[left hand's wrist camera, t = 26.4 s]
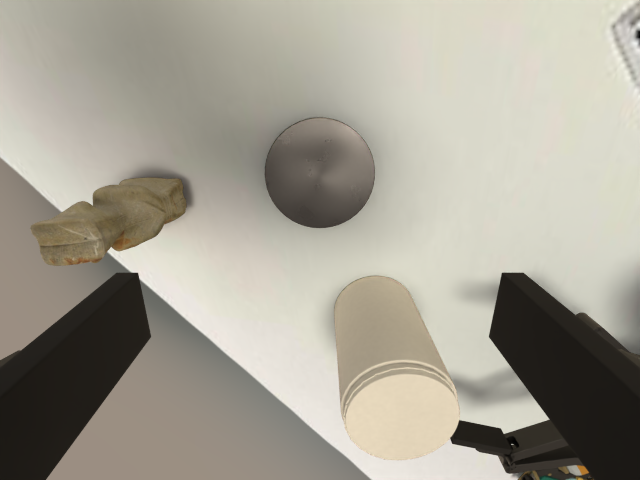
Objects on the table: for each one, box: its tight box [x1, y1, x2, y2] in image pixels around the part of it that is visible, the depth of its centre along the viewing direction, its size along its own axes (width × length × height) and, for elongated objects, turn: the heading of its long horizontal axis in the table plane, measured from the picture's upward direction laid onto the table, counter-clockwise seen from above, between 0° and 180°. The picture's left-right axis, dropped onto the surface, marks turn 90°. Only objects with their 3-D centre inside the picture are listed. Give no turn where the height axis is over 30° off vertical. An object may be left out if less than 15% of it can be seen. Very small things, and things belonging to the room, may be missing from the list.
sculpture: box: [31, 178, 186, 266], centre depth 32 cm, size 6×7×15 cm
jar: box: [334, 276, 460, 460], centre depth 37 cm, size 10×10×17 cm
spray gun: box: [518, 465, 594, 480], centre depth 53 cm, size 4×17×15 cm
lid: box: [265, 118, 375, 228], centre depth 38 cm, size 12×12×2 cm
